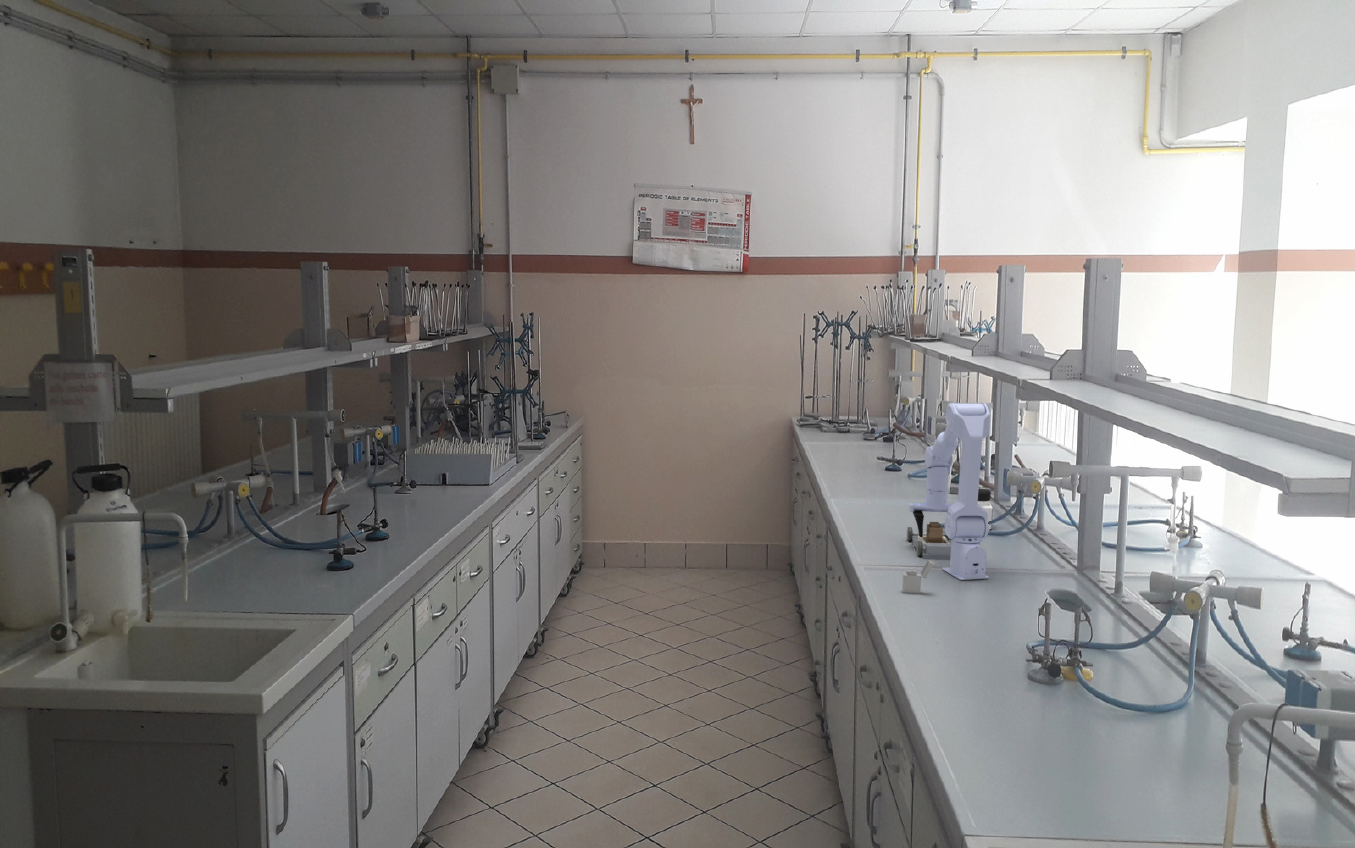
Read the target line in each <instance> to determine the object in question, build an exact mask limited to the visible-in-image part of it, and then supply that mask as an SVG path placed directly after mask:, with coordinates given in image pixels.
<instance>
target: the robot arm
mask: <svg viewBox="0 0 1355 848" xmlns="http://www.w3.org/2000/svg"><path fill="white" fill-rule="evenodd" d="M944 413H945V414H944V415H945V416H944V418H945V423H946V427H945V429H944V431H942V432H940V433H939V434H938V435H937V437H936V439H935V441H934V443H933V444H932V446H931V445H930V446H927V447H926V448H925V452H924V463H925V466H926V468H927V469H926V471H927V473H926V487H925V489H926V492H925V502H918V503H909V506H908V510H909V512H912V514H913V517H914V519H915V522H916V525H917V530H918V533H919V536H920V537H923V533H924V520H925V519H924V518H925V515H924V512H929V513H930V512H931V513H933V512H934V513H935V512H937V513H946V517H945V520H944V533H946V537H947V538H949V539H951V541H950V544H951V553H950V559H949V566H948V567H942V570H943V571H945V572H946V573H948V574H950V575H952V576H953V577H955V578H956V579H957V580H961V581H963V580H965V581H966V580H980V579H989V576H988V575H986V571H987V552H986V550H985V549H984V547H982V545H981V543H983V541H984V539H986V537H987V536H988V535H989V531H990V530H989V524H988V513H987V511H986V510H985V509H984V508H983V507H982V506H981V505H979V504H978V503H977V502H978V489H979V488H980V487H979V486H980V475H981V474H980V472H981V463H982V462H981V461H982V450H983V449H982V448H983V440H984V439H985V438H987V437H988V436H989V431H990V423H991V413H990V409H989V407H988V405H987V404H986V403H983V402H981V403H955V402H949V404H948V405H947V406H946V409H945V412H944ZM959 440H960V441H961V449H960V451H961V454H960V463H959V464H960V467H959V480H958V491H957V492H958V494H957V501H956V502H955V503H954V504H951V503H948V489H949V488H948V486H949V485H948V483H949V482H948V481H949V475H950V474H951V469H952V468H951V467H952V464H953V454H954V453H955V451H956V449H957V447H958V445H959Z"/></svg>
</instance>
